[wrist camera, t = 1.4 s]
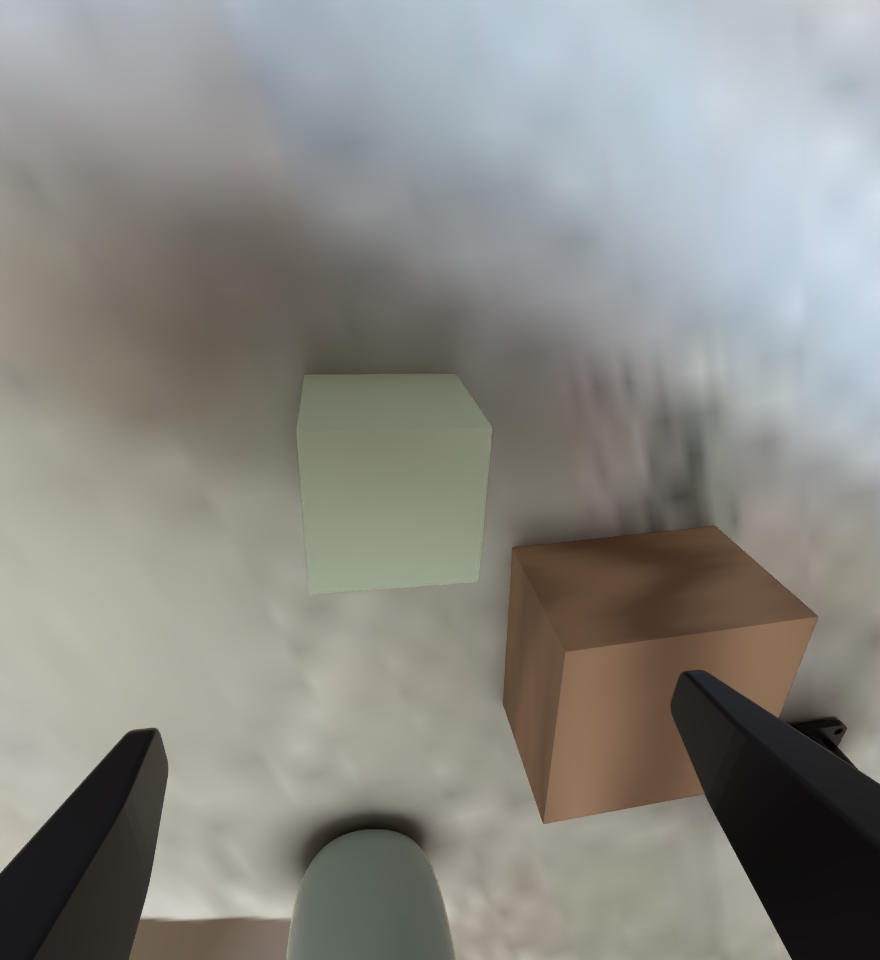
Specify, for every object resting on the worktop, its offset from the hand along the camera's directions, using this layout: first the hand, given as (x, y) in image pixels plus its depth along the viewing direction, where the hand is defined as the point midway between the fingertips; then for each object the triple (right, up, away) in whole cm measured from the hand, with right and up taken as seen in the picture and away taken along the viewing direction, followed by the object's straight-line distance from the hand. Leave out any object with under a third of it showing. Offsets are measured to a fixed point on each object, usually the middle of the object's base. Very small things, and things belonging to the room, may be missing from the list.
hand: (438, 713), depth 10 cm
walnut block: (+7, -2, +16) cm, 18 cm away
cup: (-4, -16, +21) cm, 27 cm away
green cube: (-2, +5, +10) cm, 12 cm away
